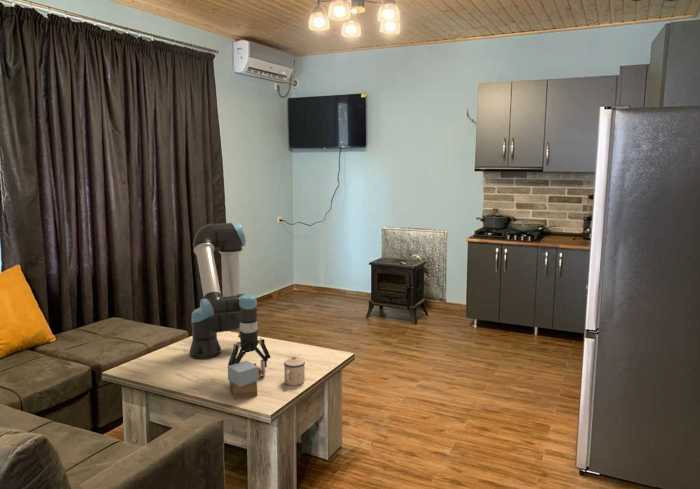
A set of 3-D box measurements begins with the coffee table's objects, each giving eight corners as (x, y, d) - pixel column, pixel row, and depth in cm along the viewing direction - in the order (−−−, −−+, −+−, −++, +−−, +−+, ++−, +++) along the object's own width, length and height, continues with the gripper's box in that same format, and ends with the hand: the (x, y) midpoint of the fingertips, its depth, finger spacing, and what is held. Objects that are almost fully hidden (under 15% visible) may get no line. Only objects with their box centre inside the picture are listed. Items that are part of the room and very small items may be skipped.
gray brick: (228, 380, 222) (227, 366, 221) (247, 374, 228) (246, 360, 227) (239, 386, 216) (239, 372, 215) (258, 380, 222) (258, 366, 221)
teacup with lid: (289, 376, 241) (289, 351, 239) (308, 379, 238) (308, 353, 236) (277, 386, 229) (276, 360, 228) (296, 390, 226) (296, 363, 225)
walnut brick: (229, 392, 225) (229, 378, 224) (250, 387, 229) (250, 374, 228) (235, 400, 217) (235, 386, 216) (257, 396, 221) (256, 382, 220)
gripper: (226, 338, 224) (228, 387, 227) (277, 327, 238) (278, 374, 242) (218, 333, 230) (220, 381, 233) (269, 323, 244) (270, 368, 248)
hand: (250, 377), depth 238 cm, fingers open, 12 cm apart
